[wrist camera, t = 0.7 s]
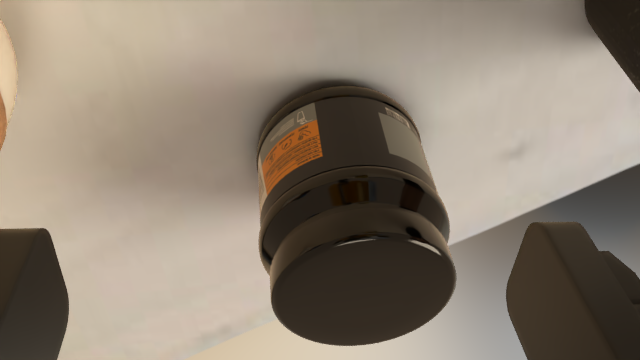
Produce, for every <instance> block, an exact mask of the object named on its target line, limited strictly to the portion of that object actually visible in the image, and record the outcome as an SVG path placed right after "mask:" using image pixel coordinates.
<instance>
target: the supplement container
mask: <svg viewBox="0 0 640 360" xmlns="http://www.w3.org/2000/svg"><path fill="white" fill-rule="evenodd" d="M257 171H258V176H259V202H260V227H261V228H260V232H259V253H260V258H261V261H262V264H263V266H264V268H265V270H266V271H267V273H268V274H269V276H270V291H271V304H272V308H273V311H274V313H275V315H276V317H277V318H278V320H279V321H280V322H281V323H282V324H283V325H284V326H285V327H286V328H287V329H289V330H290V331H292V332H293V333H295V334H297V335H298V336H300V337H303V338H305V339H308V340H311V341H314V342H319V343H322V344H329V345H339V346H355V345H366V344H373V343H379V342H383V341H387V340H391V339H394V338H397V337H399V336H402V335H405V334H407V333H409V332H412V331H414V330H416V329H417V328H419V327H421V326H423V325H424V324H426V323H427V322H429V321H430V320H431V319H433V318H434V317H435V316H436V315H437V314H438V313H439V312H440V311H441V310H442V309H443V308H444V307H445V306H446V304H447V303H448V302H449V300H450V298H451V297H452V294H453V292H454V289H455V286H456V270H455V266H454V263H453V260H452V257H451V254H450V251H449V248H448V245H447V243H448V239H449V232H450V225H449V218H448V214H447V211H446V208H445V206H444V203H443V202H442V200H441V198H440V197H439V195H438V192H437V189H436V186H435V183H434V180H433V178H432V175H431V172H430V169H429V166H428V163H427V160H426V157H425V154H424V151H423V148H422V145H421V139H420V135H419V132H418V130H417V127H416V125H415V123H414V121H413V119H412V118H411V116H410V115H409V114H408V112H407V111H406V110H405V109H404V108H403V107H402V106H401V105H400V104H399V103H397V102H396V101H395V100H393V99H392V98H390V97H388V96H387V95H384V94H382V93H380V92H378V91H375V90H372V89H368V88H364V87H357V86H335V87H327V88H323V89H318V90H315V91H312V92H309V93H307V94H304V95H302V96H300V97H298V98H296V99H294V100H293V101H291V102H289V103H288V104H287V105H285V106H284V107H283V108H281V109H280V110H279V111H278V112H277V113H276V114H275V115H274V117H273V118H272V119H271V120H270V121H269V123H268V124H267V126H266V127H265V129H264V131H263V133H262V135H261V138H260V141H259V144H258V149H257Z"/></svg>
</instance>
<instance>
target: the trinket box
mask: <svg viewBox="0 0 640 360" xmlns="http://www.w3.org/2000/svg"><path fill="white" fill-rule="evenodd" d="M17 84H18V70H17V60H16V56H15V52H14V49H13V45H12V42H11V38H10V36H9V34H8V32H7V30H6V28H5V26H4V24H3V22H2V21H1V19H0V150H1V148H2V145H3V142H4V139H5V136H6V129H7V126H8V123H9V121H10V118H11V115H12V112H13V109H14V105H15V99H16V93H17Z"/></svg>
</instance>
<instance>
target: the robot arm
mask: <svg viewBox="0 0 640 360" xmlns="http://www.w3.org/2000/svg"><path fill="white" fill-rule="evenodd" d="M506 301H507V308H508V312H509V316H510V319H511V321H512V324H513V326H514V328H515V331H516V333H517V335H518V338H519V340H520V343H521V345H522V347H523V350H524V352H525V354H526V357H527V359H528V360H640V279H639V278H638V277H637V275H636V274H635V273H634V272H633V271H632V270H631V269H630V268H628V267H627V266H626V265H625V264H624V263H622V262H621V261H620V260H619V259H617V258H616V257H615V256H614V255H613V254H612V253H610V252H609V251H598V249H597V248H596V246H595V244H594V243H593V241H592V239H591V238H590V237H589V235H588V233H587V232H586V230H585V229H584V227H583V226H582V225H581V224H580V223H578V222H535V223H531V224H530V225H529V226H528V228H527V230H526V233H525V235H524V238H523V241H522V244H521V246H520V249H519V252H518V255H517V258H516V260H515V263H514V266H513V269H512V271H511V274H510V277H509V280H508V283H507V290H506ZM68 314H69V300H68V293H67V289H66V286H65V282H64V279H63V275H62V272H61V269H60V265H59V262H58V259H57V255H56V252H55V249H54V245H53V242H52V239H51V236H50V234H49V232H48V231H47V230H46V229H44V228H33V229H0V360H57V358H58V354H59V351H60V348H61V345H62V341H63V338H64V335H65V331H66V328H67V323H68Z"/></svg>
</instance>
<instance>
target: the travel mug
mask: <svg viewBox="0 0 640 360" xmlns="http://www.w3.org/2000/svg"><path fill="white" fill-rule="evenodd" d="M585 9H586V15H587V18H588V21H589V23H590V25H591V26H592V28H593V30H594V31H595V33H596V34H597V35H598V37H599V38H600V40H601V41H602V42H603V44H604V45H605V46H606V48H607V49H608V50H609V52H610V53H611V54H612V56H613V57H614V58H615V60H616V61H617V63H618V64H619V65H620V67H621V68H622V69H623V71H624V72H625V73H626V75H627V76H628V77H629V79H630V80H631V81H632V83H633V84H634V85H635V87H636V88H637V89H638V91H639V92H640V0H585Z"/></svg>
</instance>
